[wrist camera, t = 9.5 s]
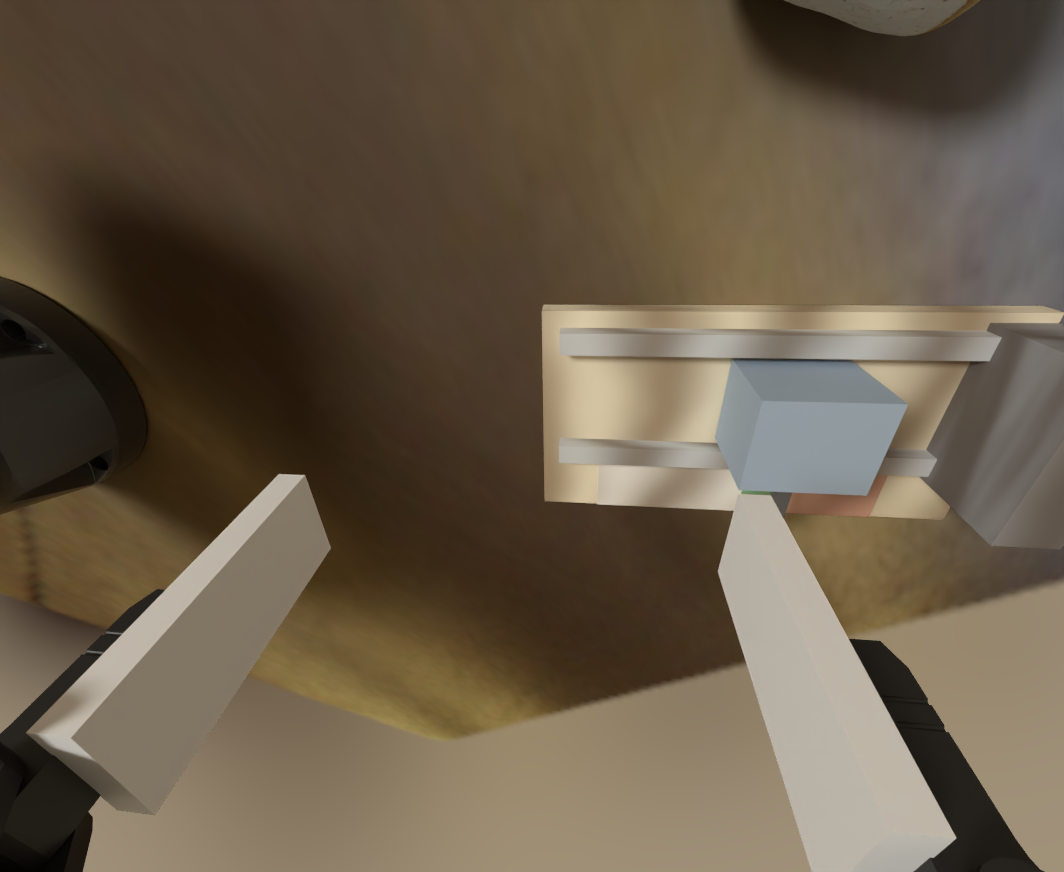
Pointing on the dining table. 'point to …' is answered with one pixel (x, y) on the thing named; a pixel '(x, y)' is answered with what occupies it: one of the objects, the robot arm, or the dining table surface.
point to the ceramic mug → (891, 13)
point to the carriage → (805, 427)
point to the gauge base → (813, 334)
